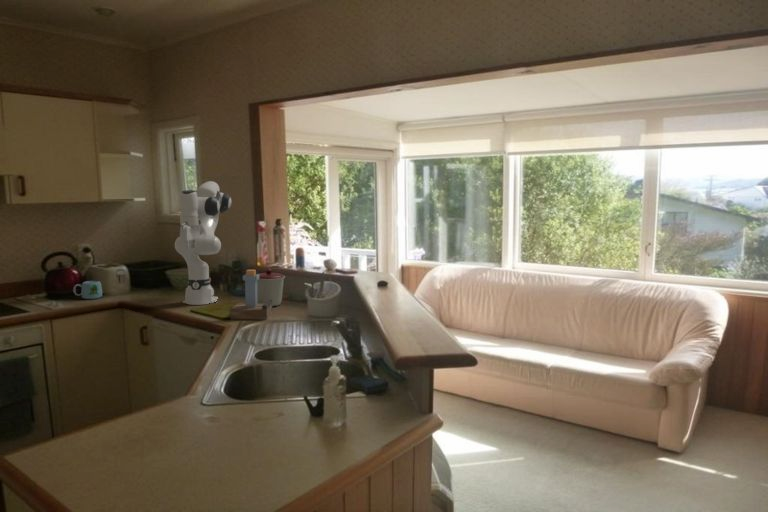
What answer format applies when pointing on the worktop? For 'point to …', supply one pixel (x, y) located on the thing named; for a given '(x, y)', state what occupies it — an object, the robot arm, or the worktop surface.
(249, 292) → the cargo post
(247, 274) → the cargo cube
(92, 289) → the mug
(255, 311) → the dock
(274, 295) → the canister
